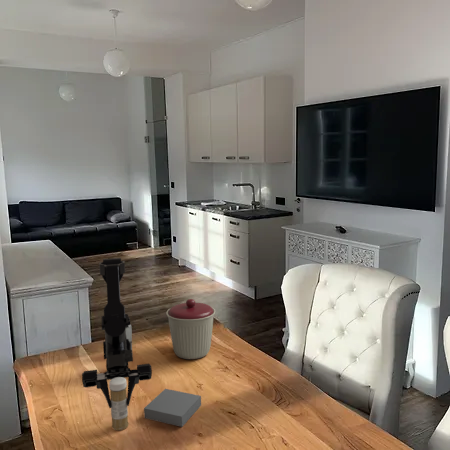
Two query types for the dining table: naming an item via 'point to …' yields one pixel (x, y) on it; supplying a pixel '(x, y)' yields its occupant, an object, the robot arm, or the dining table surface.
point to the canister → (191, 328)
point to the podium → (172, 407)
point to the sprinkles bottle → (118, 403)
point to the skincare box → (129, 334)
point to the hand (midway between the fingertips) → (119, 406)
